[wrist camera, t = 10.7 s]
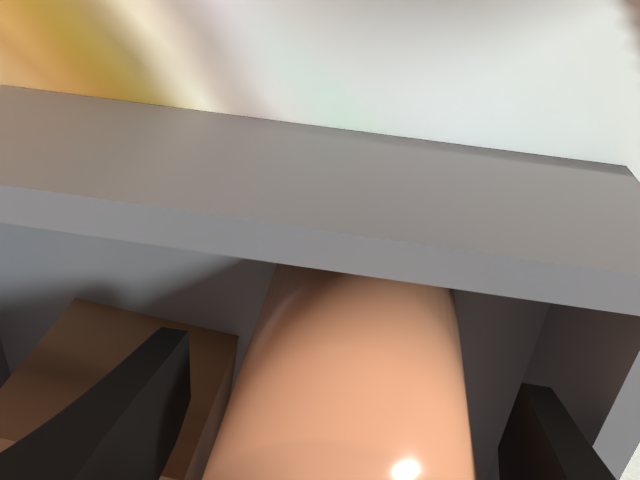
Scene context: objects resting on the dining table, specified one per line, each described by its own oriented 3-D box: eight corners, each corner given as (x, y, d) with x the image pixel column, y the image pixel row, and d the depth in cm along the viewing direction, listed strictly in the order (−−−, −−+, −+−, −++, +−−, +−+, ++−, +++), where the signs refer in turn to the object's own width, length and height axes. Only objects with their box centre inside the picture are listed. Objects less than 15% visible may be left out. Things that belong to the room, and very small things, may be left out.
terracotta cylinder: (416, 387, 17) (422, 646, 11) (254, 340, 17) (175, 576, 11) (484, 252, 15) (538, 495, 9) (295, 195, 15) (219, 403, 9)
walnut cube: (222, 446, 20) (171, 597, 16) (80, 413, 20) (-9, 554, 16) (238, 336, 17) (183, 481, 13) (74, 297, 17) (-35, 429, 13)
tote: (489, 515, 21) (510, 676, 17) (18, 435, 22) (-76, 566, 18) (625, 166, 14) (724, 287, 10) (-77, 74, 15) (-272, 146, 11)
